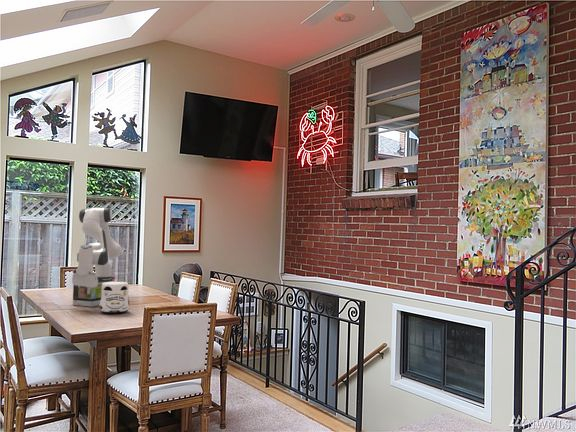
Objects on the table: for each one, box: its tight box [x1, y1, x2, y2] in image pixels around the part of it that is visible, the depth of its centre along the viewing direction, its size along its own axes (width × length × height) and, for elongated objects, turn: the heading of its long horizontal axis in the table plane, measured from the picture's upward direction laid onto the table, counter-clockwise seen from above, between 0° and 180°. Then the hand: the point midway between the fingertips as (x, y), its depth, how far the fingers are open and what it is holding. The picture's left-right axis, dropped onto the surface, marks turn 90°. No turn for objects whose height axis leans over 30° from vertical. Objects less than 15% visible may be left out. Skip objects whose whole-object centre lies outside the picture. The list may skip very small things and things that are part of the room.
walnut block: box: [79, 287, 91, 298], centre depth 307 cm, size 5×5×6 cm
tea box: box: [72, 283, 102, 308], centre depth 324 cm, size 15×10×15 cm, turn 71°
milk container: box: [99, 281, 130, 315], centre depth 302 cm, size 17×17×18 cm
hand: (84, 293), depth 307 cm, fingers closed on walnut block, 5 cm apart
